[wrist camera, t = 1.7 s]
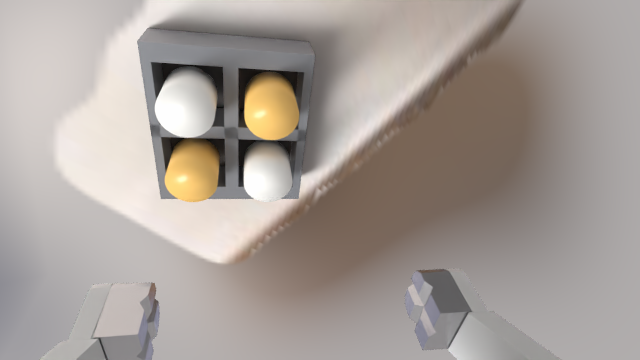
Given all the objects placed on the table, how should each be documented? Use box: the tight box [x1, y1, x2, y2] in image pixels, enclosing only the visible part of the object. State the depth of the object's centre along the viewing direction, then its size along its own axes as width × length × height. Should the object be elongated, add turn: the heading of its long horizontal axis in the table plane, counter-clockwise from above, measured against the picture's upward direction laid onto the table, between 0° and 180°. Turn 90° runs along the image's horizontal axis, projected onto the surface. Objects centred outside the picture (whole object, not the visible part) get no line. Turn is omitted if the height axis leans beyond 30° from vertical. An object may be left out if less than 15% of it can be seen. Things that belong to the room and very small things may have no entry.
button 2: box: [244, 140, 293, 202], centre depth 24 cm, size 3×3×3 cm
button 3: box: [155, 66, 218, 138], centre depth 20 cm, size 3×3×3 cm
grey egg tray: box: [137, 28, 315, 199], centre depth 23 cm, size 10×9×2 cm
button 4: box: [244, 72, 299, 140], centre depth 21 cm, size 3×3×3 cm
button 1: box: [165, 138, 220, 202], centre depth 23 cm, size 3×3×3 cm
